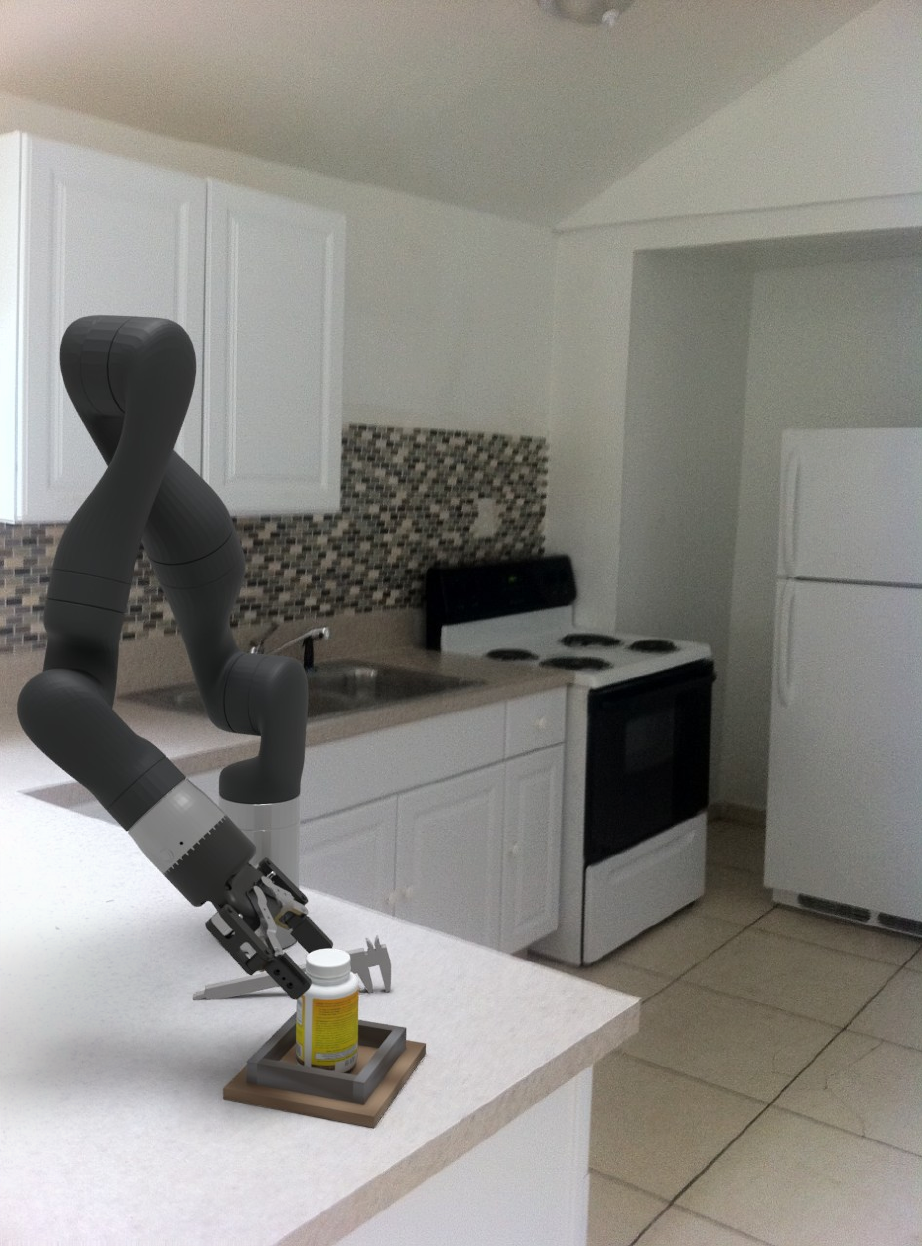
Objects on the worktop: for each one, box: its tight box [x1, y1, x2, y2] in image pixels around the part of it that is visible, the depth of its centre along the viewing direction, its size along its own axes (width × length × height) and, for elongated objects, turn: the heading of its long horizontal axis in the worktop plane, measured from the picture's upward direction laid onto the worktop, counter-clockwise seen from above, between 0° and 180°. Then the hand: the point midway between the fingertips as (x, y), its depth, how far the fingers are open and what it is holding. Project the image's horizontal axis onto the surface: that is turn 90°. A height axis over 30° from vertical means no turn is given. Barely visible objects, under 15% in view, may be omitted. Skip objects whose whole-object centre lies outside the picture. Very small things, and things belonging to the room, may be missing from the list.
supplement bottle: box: [296, 948, 360, 1073], centre depth 113 cm, size 6×6×10 cm
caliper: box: [192, 934, 392, 1001], centre depth 130 cm, size 20×1×6 cm, turn 99°
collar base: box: [222, 1010, 427, 1129], centre depth 113 cm, size 14×14×3 cm
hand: (315, 972), depth 113 cm, fingers open, 8 cm apart
